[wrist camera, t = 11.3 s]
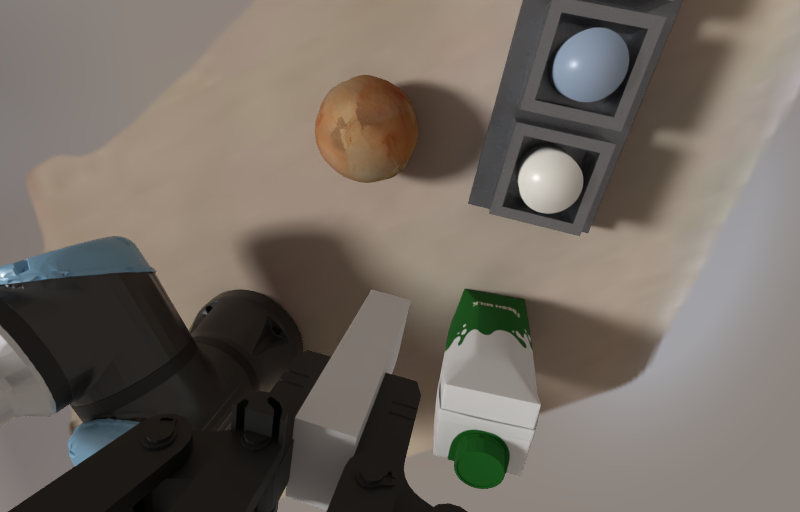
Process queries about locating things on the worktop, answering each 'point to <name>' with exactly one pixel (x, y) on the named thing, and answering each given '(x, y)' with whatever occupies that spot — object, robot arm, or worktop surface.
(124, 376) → the robot arm
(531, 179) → the cream button
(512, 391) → the milk carton
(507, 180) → the grey frame
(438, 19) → the worktop surface
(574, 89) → the slate button
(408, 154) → the onion
